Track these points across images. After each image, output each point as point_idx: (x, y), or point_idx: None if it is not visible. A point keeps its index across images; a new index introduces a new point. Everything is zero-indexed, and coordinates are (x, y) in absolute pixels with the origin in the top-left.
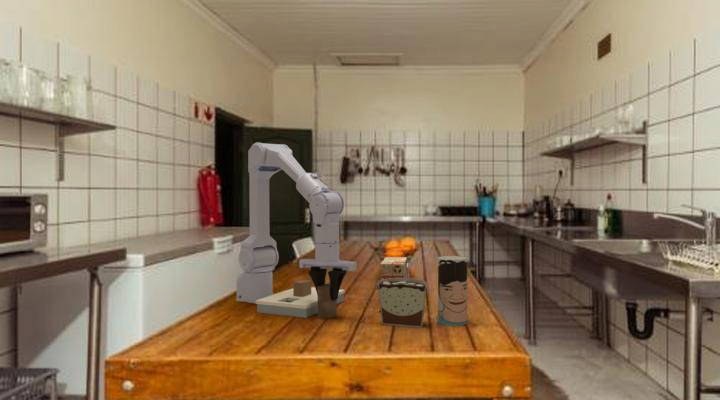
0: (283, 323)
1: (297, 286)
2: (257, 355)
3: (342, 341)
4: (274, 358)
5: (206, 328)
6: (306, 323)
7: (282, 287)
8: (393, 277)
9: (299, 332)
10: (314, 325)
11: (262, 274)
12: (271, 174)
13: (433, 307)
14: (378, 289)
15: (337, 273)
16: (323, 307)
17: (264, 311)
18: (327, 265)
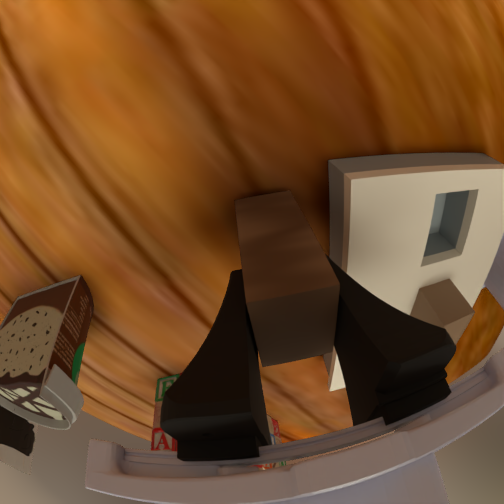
0: (385, 94)
1: (455, 307)
2: None
3: (31, 53)
4: None
5: (495, 2)
6: (307, 133)
7: (468, 347)
8: (172, 450)
9: (238, 12)
10: (256, 125)
11: None
12: None
13: (136, 402)
14: (48, 365)
15: (162, 413)
16: (268, 218)
17: (479, 158)
18: (269, 473)
